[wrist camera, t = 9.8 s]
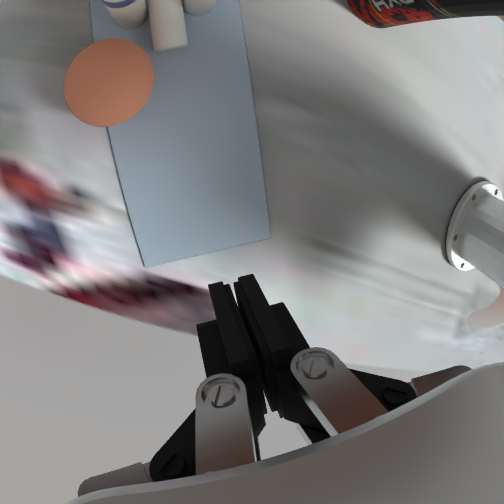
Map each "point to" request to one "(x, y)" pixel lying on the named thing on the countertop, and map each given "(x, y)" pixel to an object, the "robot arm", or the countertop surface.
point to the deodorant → (421, 10)
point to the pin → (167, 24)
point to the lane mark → (191, 141)
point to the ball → (108, 82)
